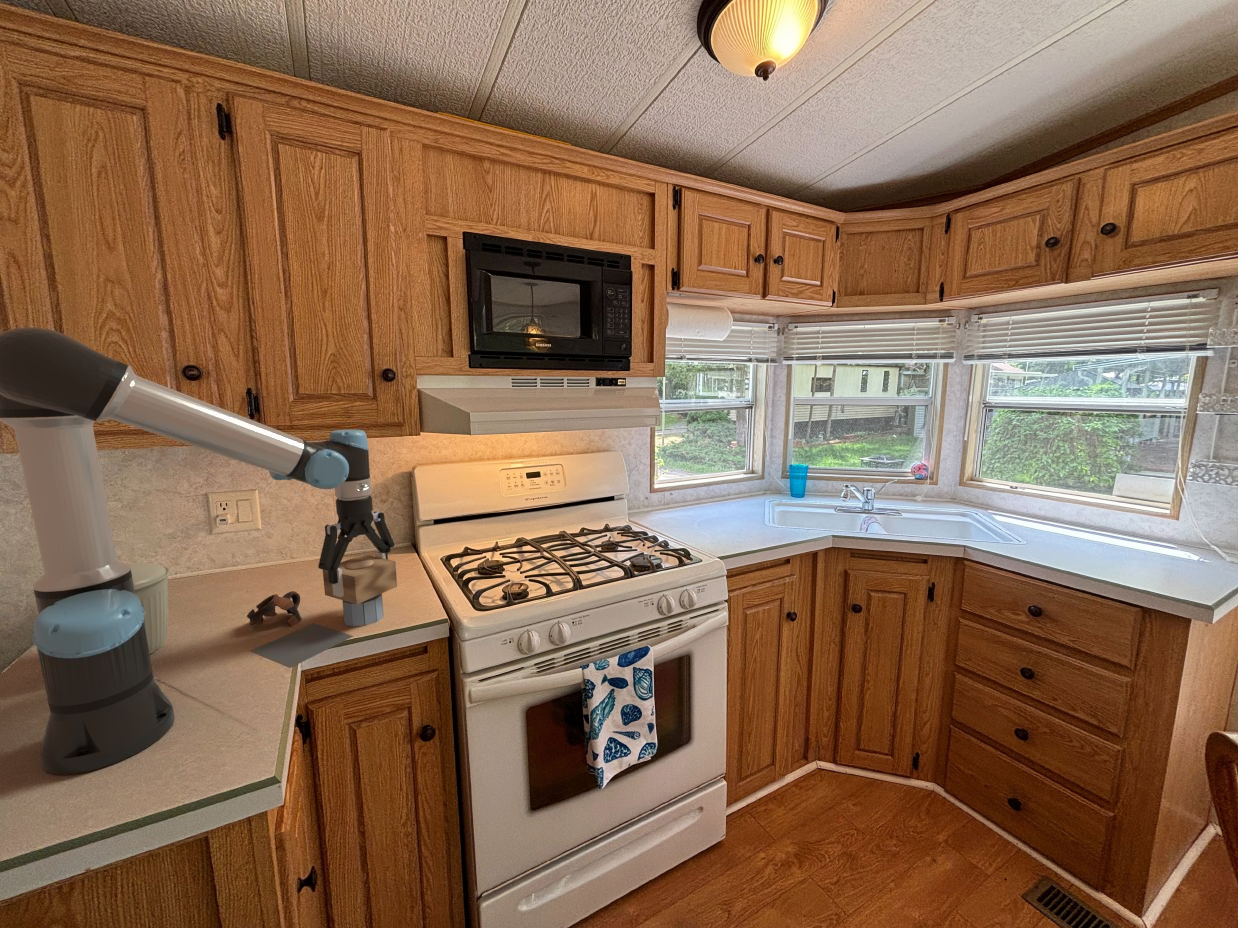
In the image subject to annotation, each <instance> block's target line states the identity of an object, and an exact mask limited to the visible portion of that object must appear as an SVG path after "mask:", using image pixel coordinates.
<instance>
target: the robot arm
mask: <svg viewBox="0 0 1238 928" xmlns="http://www.w3.org/2000/svg"><path fill="white" fill-rule="evenodd" d="M134 371H135V370H133V368H132V366H130V365H129V364H125V363H123V362H121V361H119V360H116V359H114V358H111V357H109V356H107V355H105V354H103V353H100V352H99V351H96V350H95V349H92V348H91V347H89V346H87V345H85V344H83V343H81V342H80V341H78V340H77V339H75V338H73V337H71V336H69V335H67V334H65V333H62V332H60V331H56V330H53V329H49V328H43V327H28V326H27V327H18V328H17V327H15V328H13V329H12V328H11V329H8V330H5V331H3V332H0V422H1V423H3V424H5V425H7V426H8V427H10V428H12V429H13V430H14V433H15V434H14V435H15V439H16V444H17V449H18V454H19V458H20V464H21V467H22V473H23V477H24V482H25V486H26V491H27V496H28V501H29V505H30V510H31V515H32V520H33V525H34V530H35V534H36V538H37V543H38V549H39V553H40V558H41V562H42V563H41V564H42V567H43V574H42V576H41V577H40V578H39V579H38V580H37V581H35V583H33V585H32V588H33V593H34V597H35V602H36V608H37V612H38V614H37V616H36V618H34V621H33V632H32V642H33V644H34V645H35V647H36V649H37V650H36V651H37V654H38V659H39V664H40V668H41V672H42V673H41V674H42V678H43V683H44V684H43V685H44V688H45V692H46V693H45V695H46V698H47V703H48V708H49V717H48V721H47V725H46V727H45V728H46V729H45V731H44V735H43V739H42V743H41V747H40V750H39V755H40V761H41V766H42V769H43V770H44V771H45V772H46V773H49V774H53V775H60V776H61V775H62V776H66V775H67V776H68V775H77V774H82V773H87V772H91V771H95V770H98V769H101V768H102V769H103V768H105V767H108V766H110V765H113V764H115V763H118V762H121V761H123V760H126V759H128V758H129V757H132V756H134V755H136V754H138V753H139V752H141V751H144V750H145V749H147V748H148V747H150V746H152V745H153V744H155V743H156V742H157V741H159V740H160V739H161V738H163V737H164V736H165V735H166V733H168V731H169V730H170V729H171V728H172V726H173V725H174V723H175V713H174V712H175V710H174V706H173V704H172V702H171V701H170V700H169V698H168V697H167V695H166V694H165V693H164V692H163V690H162V689H161V688H160V686H159V685H158V684H157V682H156V681H155V679H154V673H153V667H152V661H151V654H150V653H149V647H148V641H147V635H146V629H145V623H144V618H145V612H144V608H143V606H142V604H141V602H140V599H139V598H138V597H137V595H136V594H135V589H134V583H133V578H132V573H131V567H130V565H128V564H129V563H125V562H124V561H121V560H120V559H119V560H120V561H119V560H118V558H117V551H116V546H115V541H114V534H113V529H112V525H111V519H110V513H109V509H108V503H107V502H108V501H107V498H106V492H105V487H104V481H103V480H104V479H103V475H102V470H101V465H100V459H99V453H98V447H97V441H96V438H95V430H94V427H93V426H94V423H100V422H104V421H111V420H112V421H116V422H118V423H122V424H125V425H128V426H131V427H134V428H136V429H137V428H138V429H139V430H140V429H141V430H143V431H146V432H149V433H152V434H155V435H159V436H161V437H165V438H167V439H169V440H170V439H171V440H173V441H177V442H180V443H183V444H186V445H188V446H192V447H195V448H198V449H201V450H204V451H207V452H210V453H213V454H216V455H219V456H223V457H225V458H229V459H232V460H234V461H238V462H241V463H244V464H246V465H247V464H248V465H251V466H254V467H256V468H259V469H262V470H266V471H268V473H269V476H270V477H271V478H272V479H273V480H275V481H286V480H287V481H291V480H294V481H295V480H296V481H299V482H302V483H303V484H308V485H310V486H311V487H313V488H315V489H319V490H332V489H333V491H334V496H335V498H337V499H336V500H335V507H336V508H335V509H336V514H337V517H338V520H337V523H334V524H325V525H324V531H325V532H324V535H325V536H324V540H323V544H322V549H321V553H320V557H319V562H318V566H317V567H318V569H320V570H322V571H323V570H327V571H328V577H329V582H330V583H331V584H332V587H333V595H335V596H338V597H343V596H344V591H343V580H342V569H340V568H338V567H339V565H340V563H341V562H342V561H343V558H344V555H345V553H346V552H347V549H348V547H349V545H350V543H351V542H352V541H353V540H354V538H357V537H360V536H365V537H366V538H367V539H368V540H369V541H370V542H371V544H372V545H373V546H374V547H375V548H376V550H378V551H376V552H375V554H374V557H379V558H383V559H388V560H389V556H388V555H389V553H390V552H391V550H392V549H391V548H394V547H395V542H394V540H393V538H392V535H391V533H390V530H389V529H388V525H387V524H386V521H385V512H380V511H373V510H374V507H373V504H374V503H373V496H372V495H371V494H372V483H371V482H372V481H371V474H370V472H371V471H370V455H369V454H370V452H369V451H370V448H369V443H368V437H367V434H366V432H365V431H364V430H362V429H338V430H332V431H331V432H330V433H329V437H328V439H327V440H322V441H306V440H303V439H301V438H299V437H296V436H293V435H292V434H288V433H286V432H284V431H282V430H278V429H276V428H273V427H271V426H268V425H266V424H263V423H262V422H261V423H260V422H258V421H256V420H252V419H249V418H248V417H245V416H242V415H240V414H237V413H235V412H232V411H230V410H227V409H224V408H222V407H219V406H217V405H214V404H211V403H208V402H206V401H203V400H201V399H198V398H197V397H193V396H190V395H188V394H185V393H182V392H180V391H178V390H175V389H172V388H170V387H167V386H165V385H162V384H159V383H157V382H154V381H152V380H149V379H146V378H144V377H141V376H139V375H137V374H136V373H135V372H134ZM372 512H373V513H372ZM372 523H374V527H375V528H376V529H375V528H374V527H373V526H372ZM376 530H377V532H376ZM377 533H378V534H377Z"/></svg>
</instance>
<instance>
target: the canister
mask: <svg viewBox="0 0 1238 928" xmlns="http://www.w3.org/2000/svg"><path fill="white" fill-rule="evenodd" d="M117 559H118V558H117ZM118 560H119V561H121V560H120V559H118ZM127 564H128V565H130V567H131V573H132V578H133V583H134V589H135V594H136V595H137V597H138V598H139V599H140V602H141V604H142V606H143V608H144V612H145V618H144V623H145V629H146V635H147V641H148V647H149V653H150V655H151V654H152V653H154V652H156V651H157V650H158V649H160V648H161V647H162V646H163V644H164V642H165V640H166V639H167V636H168V635H167V634H168V621H169V619H168V617H169V612H168V611H169V601H168V600H169V598H168V597H169V594H168V593H169V591H168V590H169V589H168V587H169V583H168V581H169V579H168V577H169V576H170V575H171V573H172V569H171V568H170V567H169V566H166V565H162V564H158V563H154V562H153V563H152V562H131V563H127Z"/></svg>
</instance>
